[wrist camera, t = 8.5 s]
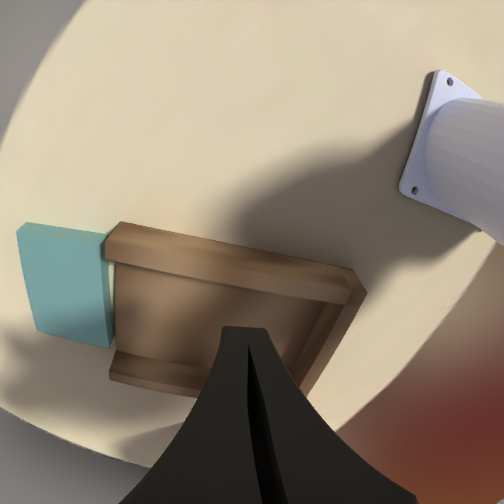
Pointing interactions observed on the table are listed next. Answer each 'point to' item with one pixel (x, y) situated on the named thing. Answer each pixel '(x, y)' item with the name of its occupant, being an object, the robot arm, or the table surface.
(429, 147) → the robot arm
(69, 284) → the cover plate
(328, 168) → the table surface
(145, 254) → the walnut box
